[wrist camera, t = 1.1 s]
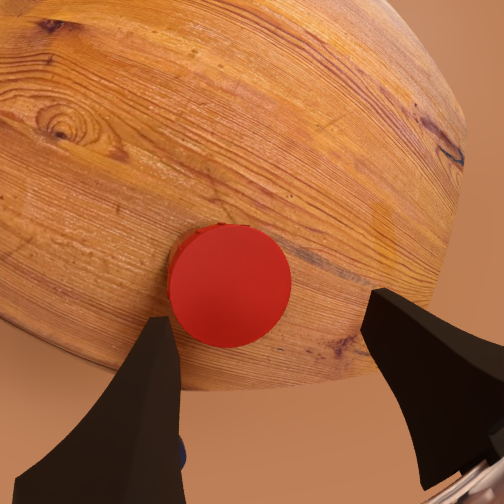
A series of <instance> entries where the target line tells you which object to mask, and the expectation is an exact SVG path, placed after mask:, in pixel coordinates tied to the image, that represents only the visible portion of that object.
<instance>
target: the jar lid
mask: <svg viewBox="0 0 504 504" xmlns="http://www.w3.org/2000/svg"><path fill="white" fill-rule="evenodd" d="M195 231H196V232H195V233H193V234H192V235H190V236H189V237H188V238H187V239H186V240H185V241H184V242H183V243H182V244H181V245H180V246H179V245H178V246H177V247H178V249H177V250H176V252H175V254H174V255H173V257H172V260H171V262H170V265H169V267H167V270H168V275H167V288H168V290H166V292H167V297H168V299H170V303H171V307H172V310H173V313H174V315H175V317H176V320H177V321H178V322H179V323H180V325H181V326H182V328H183V329H184V330H185V331H186V332H187V333H188V334H190V335H191V336H192V337H193V338H195V339H197V340H198V341H200V342H202V343H205V344H207V345H210V346H214V347H221V348H232V347H239V346H243V345H246V344H249V343H252V342H254V341H256V340H258V339H259V338H261V337H262V336H264V335H265V334H266V333H268V332H269V331H270V330H271V329H272V328H273V327H274V326H275V325H276V323H277V322H278V321H279V319H280V318H281V316H282V315H283V313H284V311H285V309H286V307H287V304H288V301H289V297H290V292H291V273H290V268H289V265H288V262H287V259H286V257H285V255H284V253H283V251H282V250H281V248H280V247H279V246H278V245H277V243H276V242H275V241H274V240H273V239H271V238H270V237H269V236H268V235H266V234H265V233H263V232H261V231H259V230H257V229H255V228H251V227H250V226H249V225H234V224H226V223H217V225H212V226H208V227H205V228H202V229H200V230H195Z"/></svg>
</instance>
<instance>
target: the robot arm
mask: <svg viewBox="0 0 504 504" xmlns="http://www.w3.org/2000/svg"><path fill="white" fill-rule="evenodd" d="M360 331H361V334H362V336H363V338H364V341H365V343H366V346H367V348H368V350H369V352H370V354H371V356H372V358H373V359H374V361H375V363H376V364H377V366H378V368H379V369H380V371H381V373H382V374H383V376H384V378H385V380H386V381H387V383H388V385H389V386H390V388H391V390H392V392H393V393H394V395H395V397H396V399H397V401H398V403H399V405H400V408H401V410H402V413H403V415H404V418H405V420H406V423H407V426H408V429H409V432H410V435H411V438H412V442H413V445H414V449H415V453H416V457H417V462H418V468H419V475H420V483H421V486H422V487H423V490H424V491H426V490H428V489H430V488H431V487H433V486H435V485H437V484H438V483H440V482H442V481H443V480H445V479H447V478H449V477H450V476H452V475H453V474H455V473H456V472H458V471H460V473H461V475H462V476H461V477H460V478H459V479H457V480H456V481H455V482H453V483H452V484H450V485H449V486H448V487H447V488H445V489H443V490H442V491H441V492H439V493H437V494H436V495H435V496H433V497H431V498H430V499H428V500H427V501H425V502H423V503H421V504H452V503H453V502H454V501H456V500H457V499H458V500H457V502H456V503H454V504H504V346H501V345H498V344H495V343H492V342H489V341H486V340H483V339H481V338H478V337H476V336H474V335H472V334H469V333H467V332H465V331H462V330H460V329H459V328H457V327H455V326H453V325H451V324H449V323H447V322H445V321H443V320H441V319H440V318H438V317H436V316H435V315H433V314H431V313H429V312H428V311H426V310H424V309H423V308H421V307H419V306H417V305H416V304H414V303H412V302H411V301H409V300H407V299H405V298H404V297H402V296H400V295H398V294H397V293H395V292H393V291H391V290H389V289H387V288H380V289H375V290H372V291H371V295H370V299H369V302H368V306H367V309H366V313H365V316H364V320H363V323H362V326H361V329H360ZM180 392H181V373H180V357H179V353H178V350H177V347H176V343H175V339H174V336H173V332H172V328H171V325H170V321H169V317H168V316H163V317H150V318H149V320H148V321H147V323H146V325H145V327H144V328H143V330H142V332H141V334H140V335H139V337H138V339H137V341H136V342H135V344H134V346H133V348H132V349H131V351H130V353H129V354H128V356H127V357H126V359H125V361H124V362H123V364H122V366H121V367H120V369H119V370H118V372H117V373H116V375H115V376H114V378H113V379H112V381H111V382H110V384H109V385H108V387H107V388H106V390H105V391H104V392H103V394H102V395H101V397H100V398H99V399H98V400H97V402H96V403H95V404H94V406H93V407H92V408H91V410H90V411H89V412H88V413H87V414H86V416H85V417H84V418H83V419H82V420H81V421H80V422H79V424H78V425H77V426H76V427H75V428H74V429H73V430H72V431H71V432H70V433H69V435H67V436H66V438H64V440H62V441H61V442H60V443H59V444H58V445H57V446H56V447H55V448H54V449H53V450H52V451H50V452H49V453H48V454H47V455H46V456H45V457H44V458H43V459H41V460H40V461H39V462H37V463H36V464H35V465H33V466H32V467H31V468H29V469H28V470H27V471H25V472H24V473H23V474H21V475H20V476H18V477H17V478H15V484H14V491H13V500H12V504H186V501H185V495H184V489H183V482H182V475H181V467H180V457H179V439H178V438H179V411H180Z"/></svg>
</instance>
